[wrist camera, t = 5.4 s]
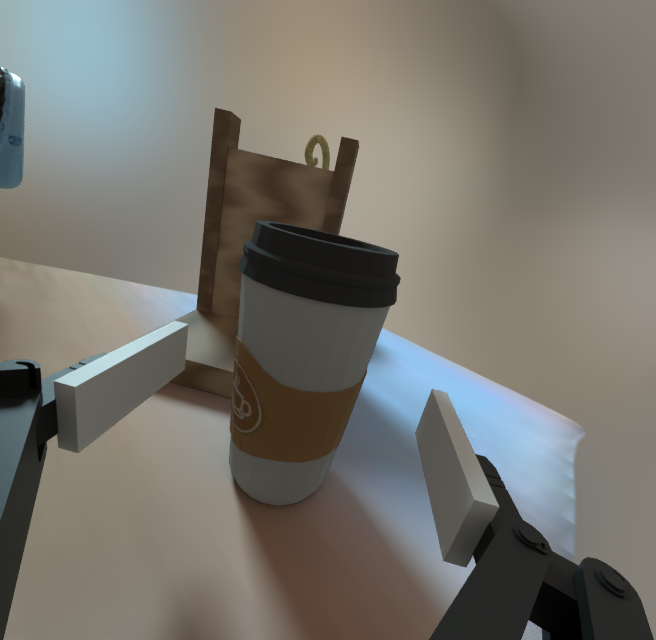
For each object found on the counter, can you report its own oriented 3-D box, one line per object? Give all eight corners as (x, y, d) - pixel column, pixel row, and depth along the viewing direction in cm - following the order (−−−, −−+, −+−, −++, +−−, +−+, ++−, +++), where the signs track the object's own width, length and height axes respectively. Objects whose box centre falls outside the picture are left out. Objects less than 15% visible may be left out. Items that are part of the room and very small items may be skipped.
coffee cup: (197, 437, 21) (222, 210, 16) (302, 415, 26) (345, 235, 21) (235, 554, 15) (294, 241, 10) (364, 495, 20) (445, 265, 15)
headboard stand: (127, 370, 26) (132, 45, 19) (204, 322, 39) (226, 116, 31) (285, 413, 26) (353, 93, 18) (312, 350, 38) (359, 146, 31)
